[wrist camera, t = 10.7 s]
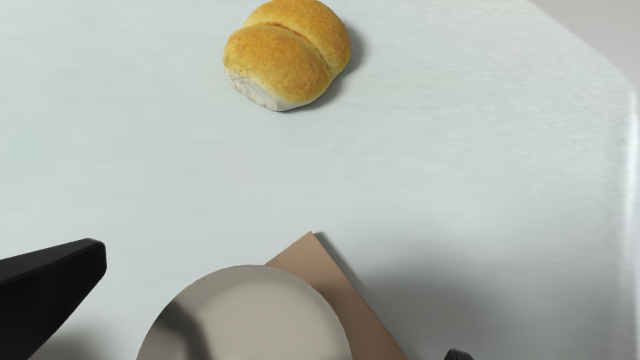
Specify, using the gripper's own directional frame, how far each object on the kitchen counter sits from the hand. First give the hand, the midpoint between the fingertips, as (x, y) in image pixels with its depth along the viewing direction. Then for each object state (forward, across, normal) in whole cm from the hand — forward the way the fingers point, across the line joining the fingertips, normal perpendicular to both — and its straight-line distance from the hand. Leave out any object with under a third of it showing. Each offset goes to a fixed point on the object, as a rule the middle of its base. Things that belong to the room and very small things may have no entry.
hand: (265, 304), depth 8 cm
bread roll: (+20, +6, -4) cm, 21 cm away
